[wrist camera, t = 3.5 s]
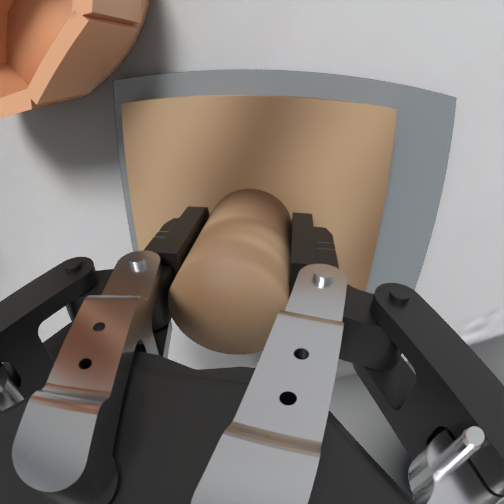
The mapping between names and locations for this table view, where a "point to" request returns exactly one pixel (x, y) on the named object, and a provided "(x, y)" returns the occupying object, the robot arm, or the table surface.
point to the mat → (354, 90)
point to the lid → (254, 198)
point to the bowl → (62, 48)
